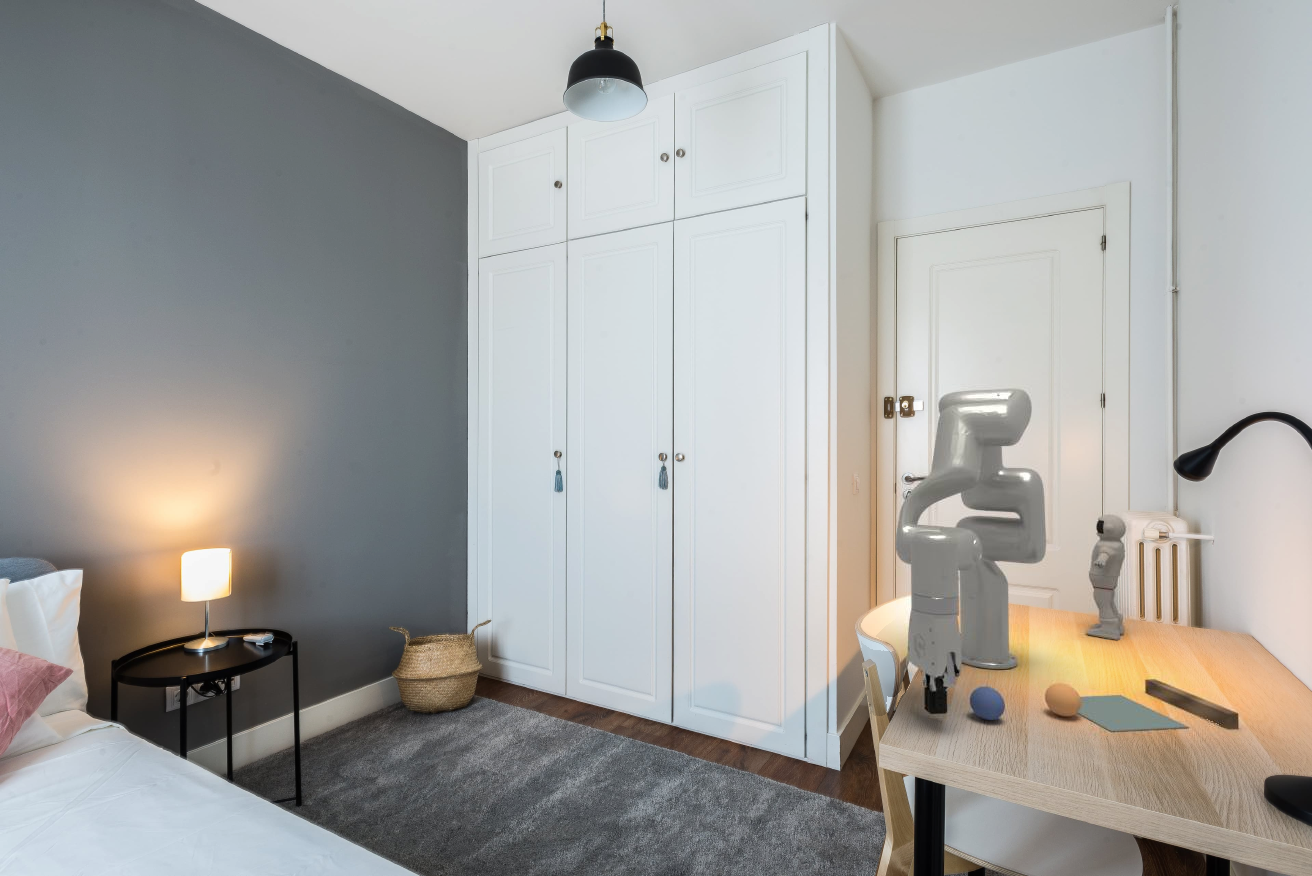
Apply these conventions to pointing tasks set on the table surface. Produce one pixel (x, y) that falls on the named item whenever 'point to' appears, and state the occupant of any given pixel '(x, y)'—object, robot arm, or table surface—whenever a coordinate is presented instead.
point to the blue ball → (987, 703)
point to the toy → (1107, 576)
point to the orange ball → (1063, 699)
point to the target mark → (1124, 714)
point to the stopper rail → (1192, 703)
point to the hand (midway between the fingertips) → (935, 711)
